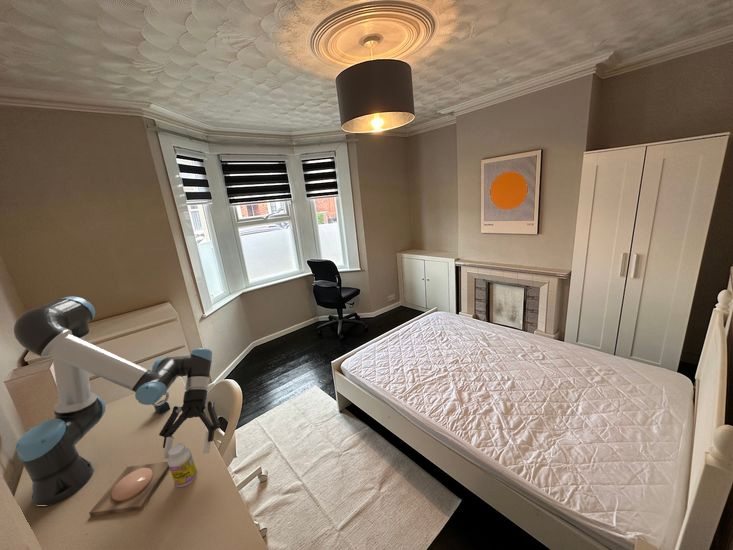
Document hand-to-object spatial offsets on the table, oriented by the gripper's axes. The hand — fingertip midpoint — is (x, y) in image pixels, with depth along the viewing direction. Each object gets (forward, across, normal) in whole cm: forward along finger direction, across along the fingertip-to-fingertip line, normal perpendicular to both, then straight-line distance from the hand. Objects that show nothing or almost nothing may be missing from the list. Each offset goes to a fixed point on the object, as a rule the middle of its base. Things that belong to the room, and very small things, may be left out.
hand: (186, 456), depth 99 cm
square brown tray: (+7, +18, -4) cm, 20 cm away
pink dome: (+6, +18, -3) cm, 19 cm away
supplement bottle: (+7, +1, -5) cm, 8 cm away
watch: (-22, +34, -33) cm, 52 cm away
